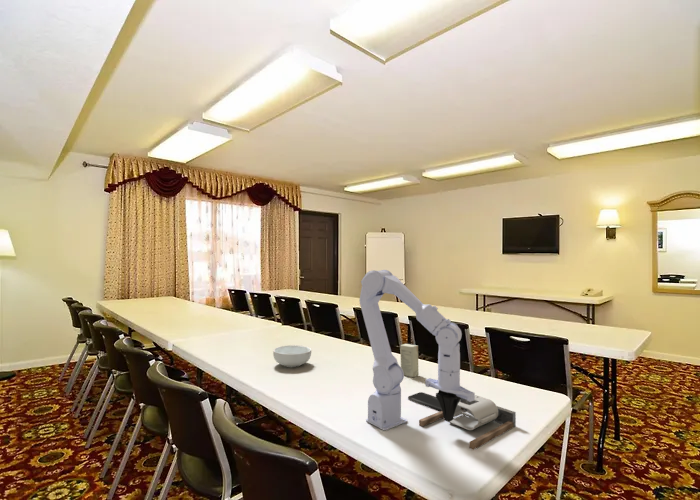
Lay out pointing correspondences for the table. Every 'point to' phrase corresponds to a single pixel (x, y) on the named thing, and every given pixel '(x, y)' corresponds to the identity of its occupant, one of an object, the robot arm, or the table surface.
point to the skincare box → (409, 359)
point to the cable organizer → (475, 413)
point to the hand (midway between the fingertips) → (448, 420)
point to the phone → (426, 400)
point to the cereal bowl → (292, 355)
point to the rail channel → (504, 418)
